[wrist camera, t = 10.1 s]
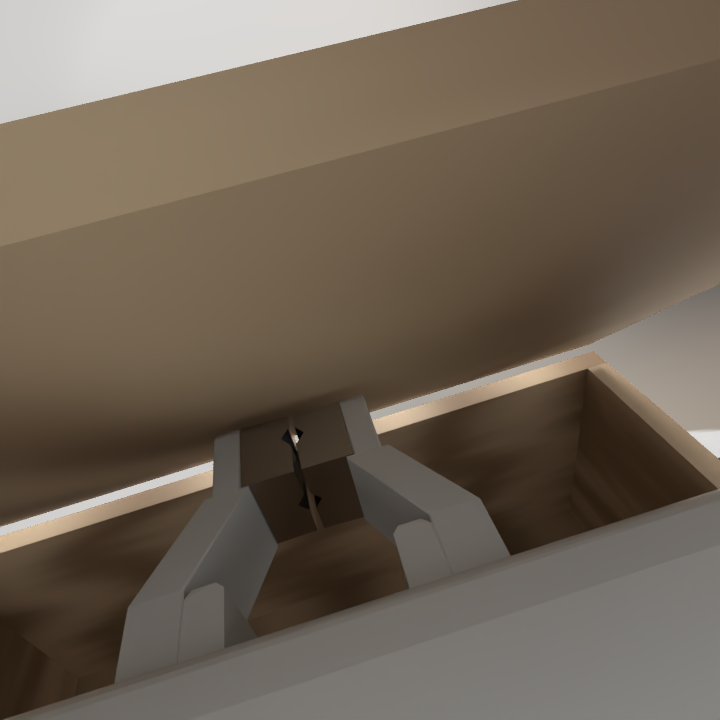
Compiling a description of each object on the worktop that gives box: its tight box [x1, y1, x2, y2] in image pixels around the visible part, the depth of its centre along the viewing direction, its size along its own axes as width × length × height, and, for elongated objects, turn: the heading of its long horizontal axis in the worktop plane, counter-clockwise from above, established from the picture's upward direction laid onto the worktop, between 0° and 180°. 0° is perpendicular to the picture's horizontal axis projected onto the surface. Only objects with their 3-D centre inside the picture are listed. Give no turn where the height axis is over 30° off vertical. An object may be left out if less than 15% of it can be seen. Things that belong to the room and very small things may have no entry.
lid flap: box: [0, 0, 720, 527], centre depth 10 cm, size 25×16×1 cm
